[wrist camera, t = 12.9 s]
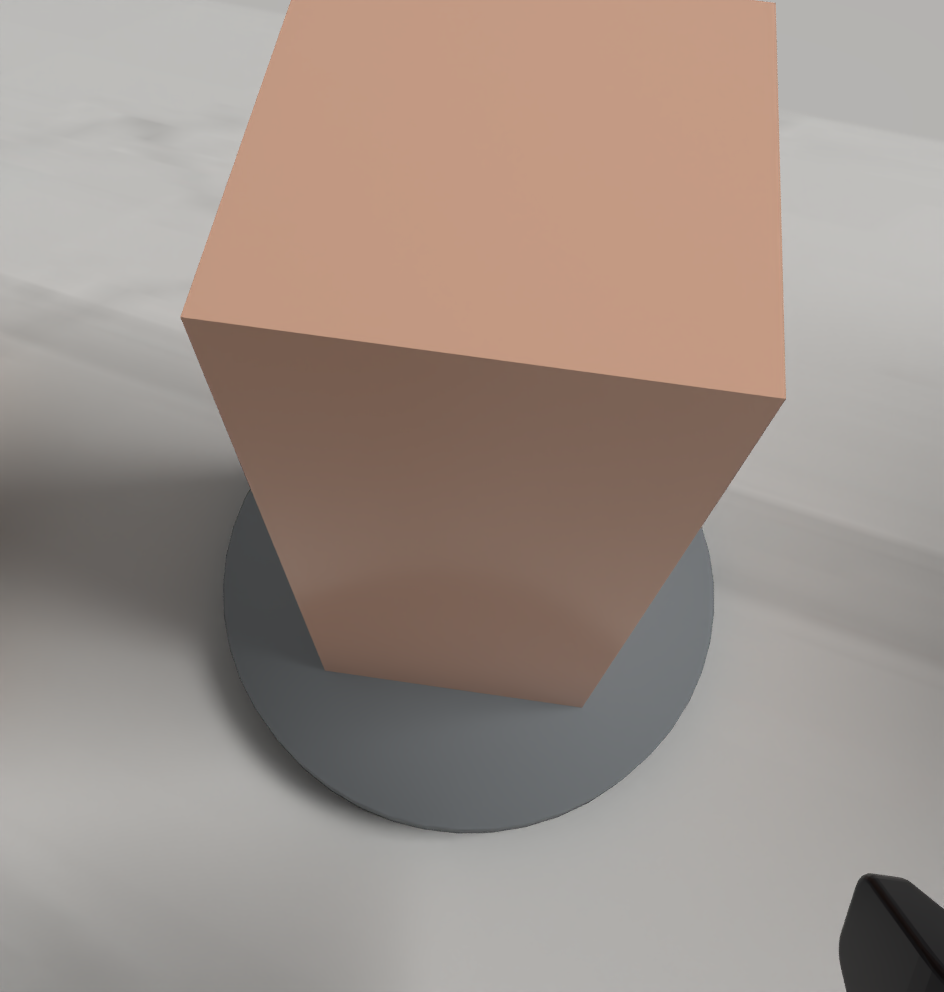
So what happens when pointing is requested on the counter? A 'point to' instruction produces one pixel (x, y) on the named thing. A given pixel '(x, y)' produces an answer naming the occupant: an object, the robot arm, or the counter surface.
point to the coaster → (459, 707)
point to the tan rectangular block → (496, 319)
